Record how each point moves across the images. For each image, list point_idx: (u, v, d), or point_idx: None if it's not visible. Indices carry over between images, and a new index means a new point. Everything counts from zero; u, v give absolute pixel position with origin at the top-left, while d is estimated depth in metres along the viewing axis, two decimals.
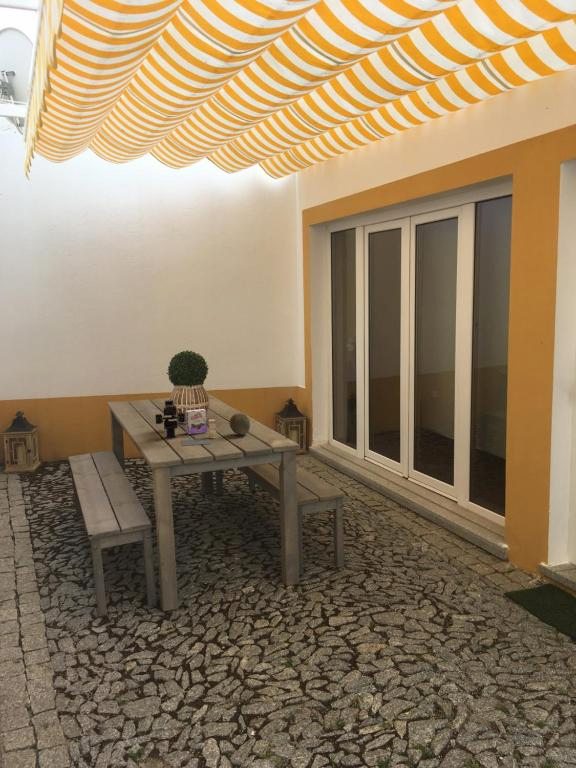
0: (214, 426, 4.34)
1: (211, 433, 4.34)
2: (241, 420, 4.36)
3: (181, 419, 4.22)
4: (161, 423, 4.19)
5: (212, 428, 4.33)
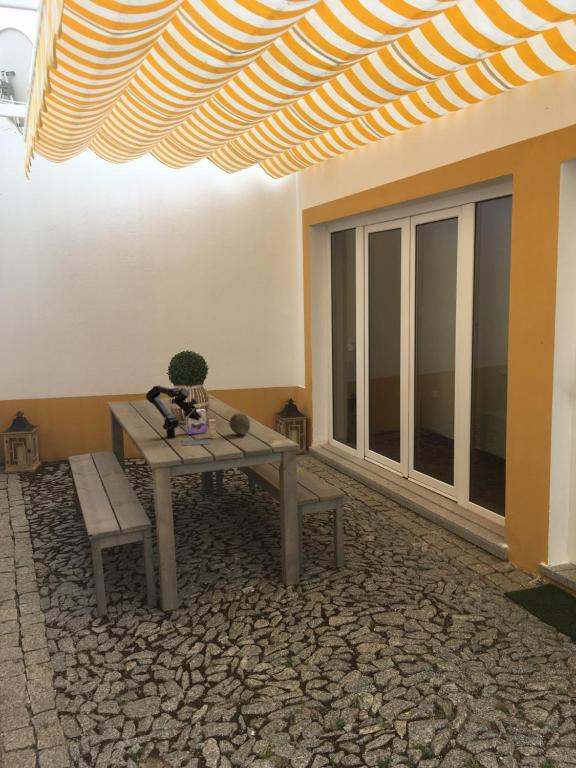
0: (214, 426, 4.34)
1: (211, 433, 4.34)
2: (241, 420, 4.36)
3: None
4: (189, 417, 4.26)
5: (212, 428, 4.33)
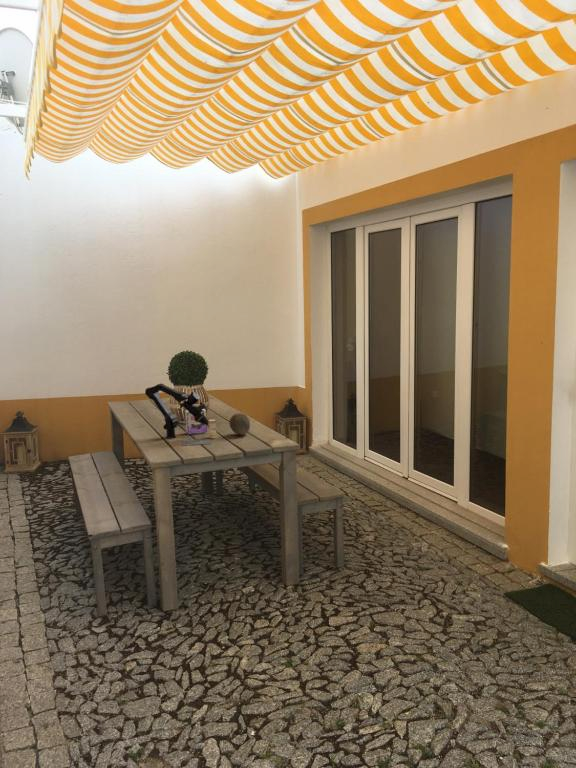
0: (214, 426, 4.34)
1: (211, 433, 4.34)
2: (241, 420, 4.36)
3: None
4: None
5: (212, 428, 4.33)
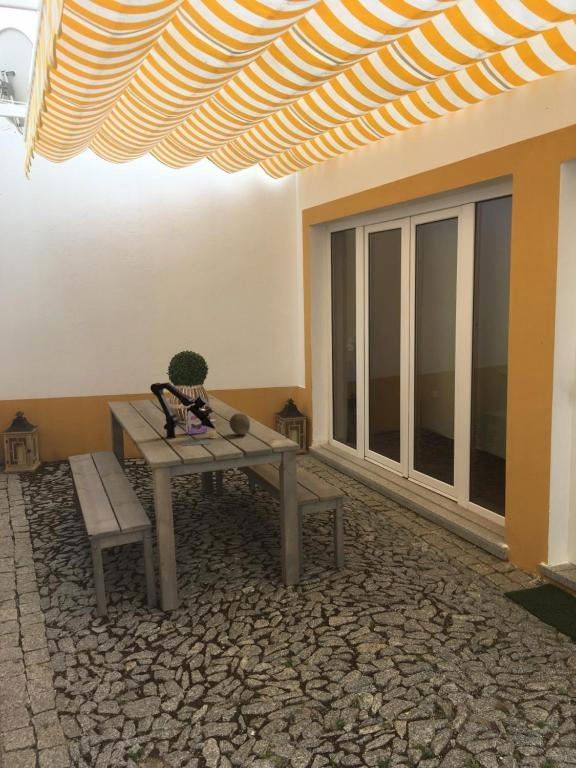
0: (214, 426, 4.34)
1: (211, 433, 4.34)
2: (241, 420, 4.36)
3: None
4: (205, 425, 4.31)
5: (212, 428, 4.33)
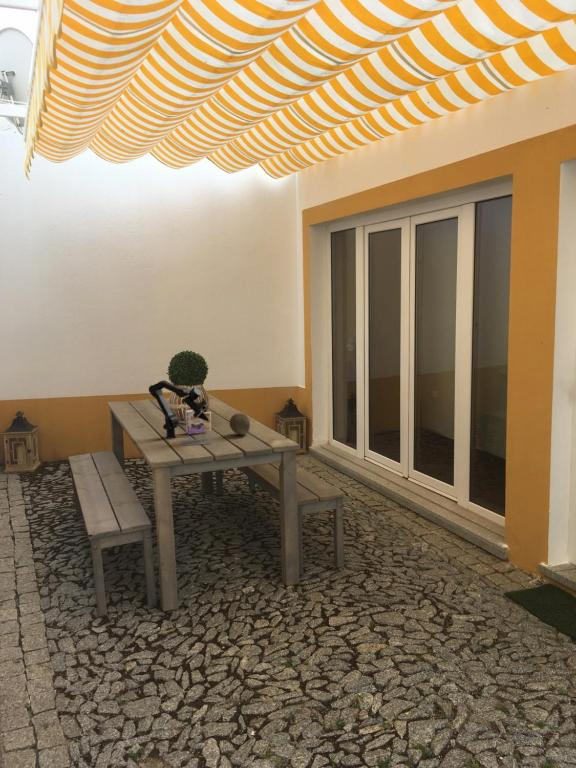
0: None
1: (205, 425, 4.28)
2: (241, 420, 4.36)
3: None
4: (199, 417, 4.26)
5: (206, 421, 4.27)
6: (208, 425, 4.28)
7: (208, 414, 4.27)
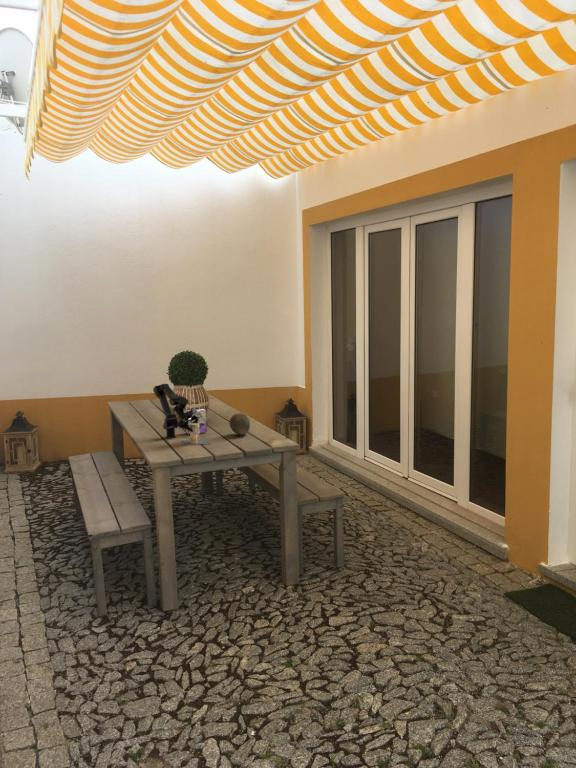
0: (194, 430, 4.20)
1: (191, 437, 4.21)
2: (241, 420, 4.36)
3: None
4: (184, 427, 4.19)
5: (192, 432, 4.21)
6: (194, 437, 4.21)
7: (194, 426, 4.19)
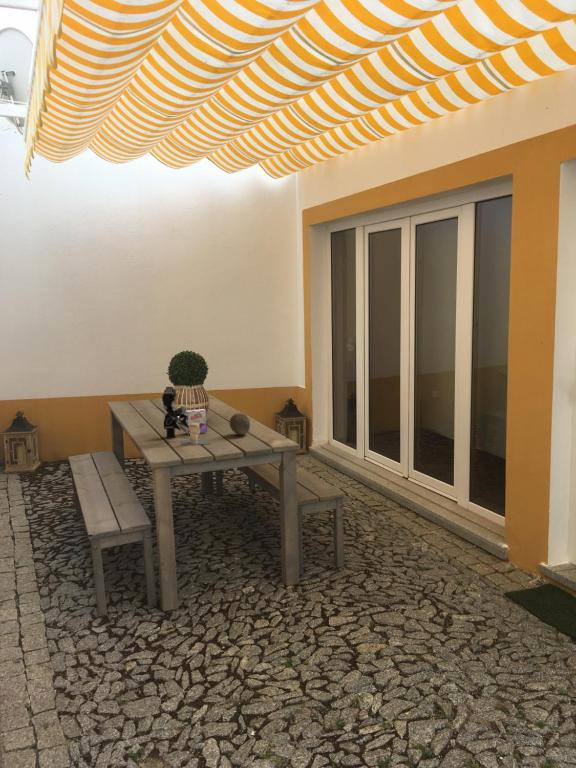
0: (194, 430, 4.20)
1: (191, 437, 4.21)
2: (241, 420, 4.36)
3: None
4: (172, 425, 4.23)
5: (192, 432, 4.21)
6: (194, 437, 4.21)
7: (194, 426, 4.19)
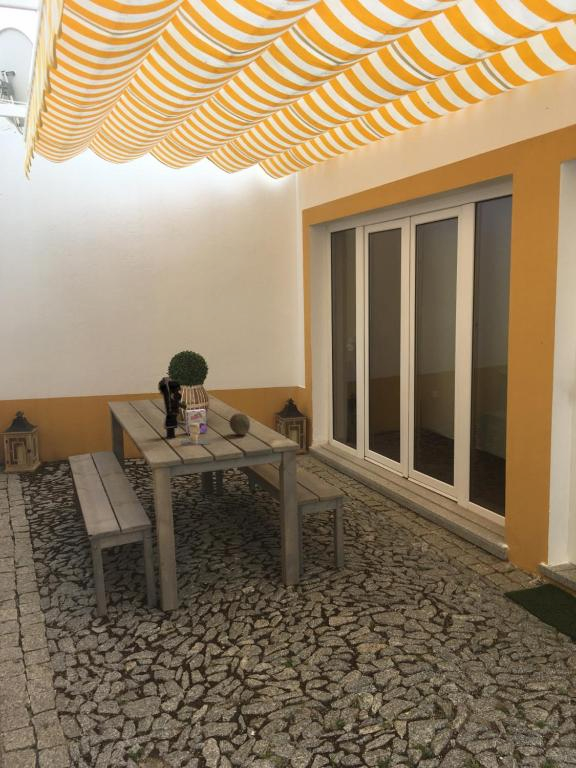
0: (194, 430, 4.20)
1: (191, 437, 4.21)
2: (241, 420, 4.36)
3: None
4: (170, 415, 4.20)
5: (192, 432, 4.21)
6: (194, 437, 4.21)
7: (194, 426, 4.19)
